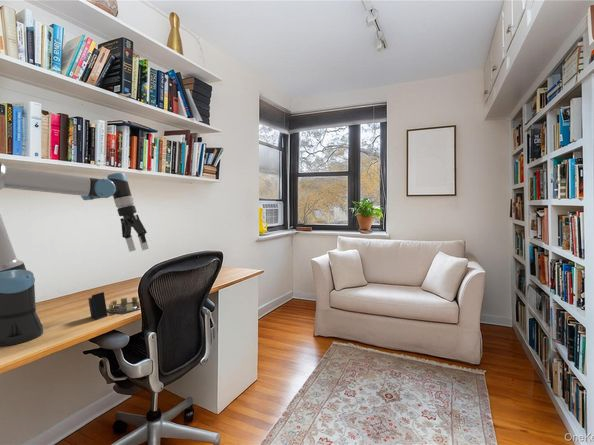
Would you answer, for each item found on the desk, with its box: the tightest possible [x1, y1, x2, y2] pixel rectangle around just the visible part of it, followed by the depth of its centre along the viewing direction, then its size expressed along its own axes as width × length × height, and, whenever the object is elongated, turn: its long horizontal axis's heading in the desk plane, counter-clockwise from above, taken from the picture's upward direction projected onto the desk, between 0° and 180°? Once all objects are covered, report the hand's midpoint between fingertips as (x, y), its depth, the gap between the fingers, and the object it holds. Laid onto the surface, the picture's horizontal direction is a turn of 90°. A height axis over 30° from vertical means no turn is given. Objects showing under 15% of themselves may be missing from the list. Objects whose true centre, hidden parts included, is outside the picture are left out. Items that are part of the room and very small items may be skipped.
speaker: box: [87, 291, 108, 321], centre depth 137 cm, size 8×6×10 cm
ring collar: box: [107, 296, 141, 315], centre depth 148 cm, size 15×15×3 cm
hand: (138, 250), depth 154 cm, fingers open, 13 cm apart
